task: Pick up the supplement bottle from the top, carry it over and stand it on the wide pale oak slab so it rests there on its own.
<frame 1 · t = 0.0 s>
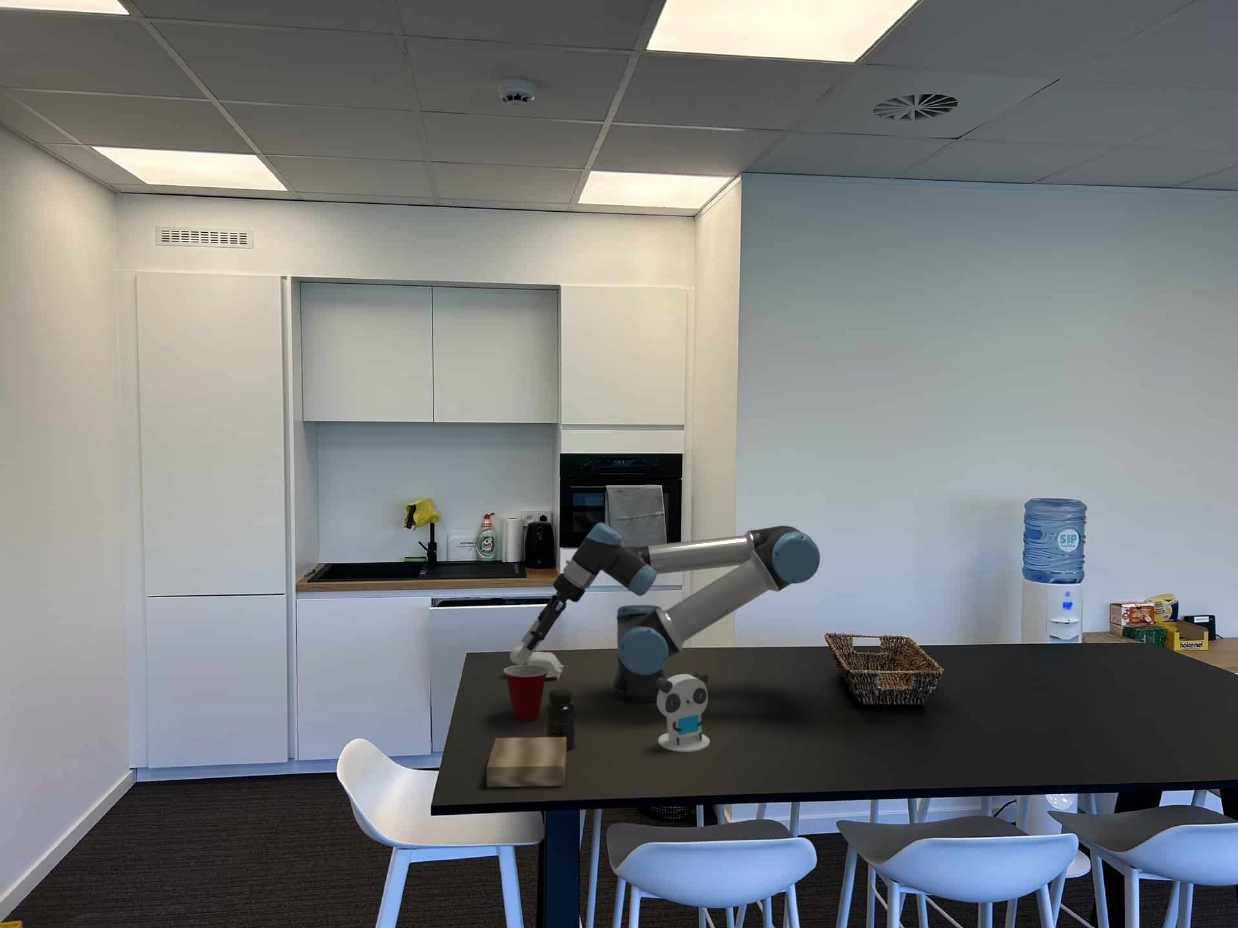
hand: (523, 651, 211), 15 cm above the table, tool tilted 35°, fingers open, 13 cm apart
supplement bottle: (560, 746, 192), on the table
oak block: (528, 770, 179), on the table
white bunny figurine: (536, 678, 241), on the table
plastic cup: (526, 717, 210), on the table
disc-based toy figure: (682, 742, 194), on the table
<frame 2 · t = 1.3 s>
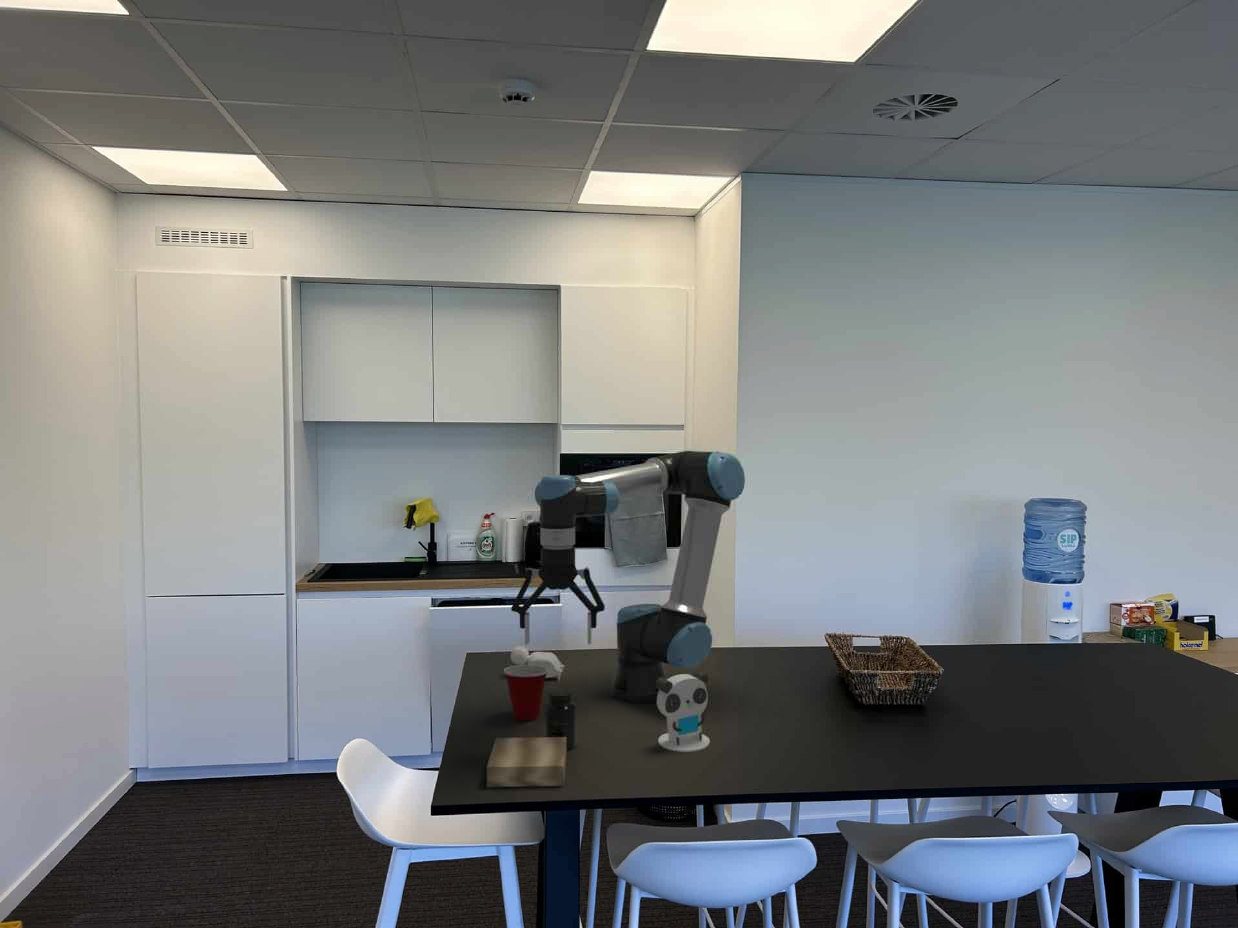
hand: (558, 642, 191), 23 cm above the table, tool pointing down, fingers open, 13 cm apart
nothing on the table moved.
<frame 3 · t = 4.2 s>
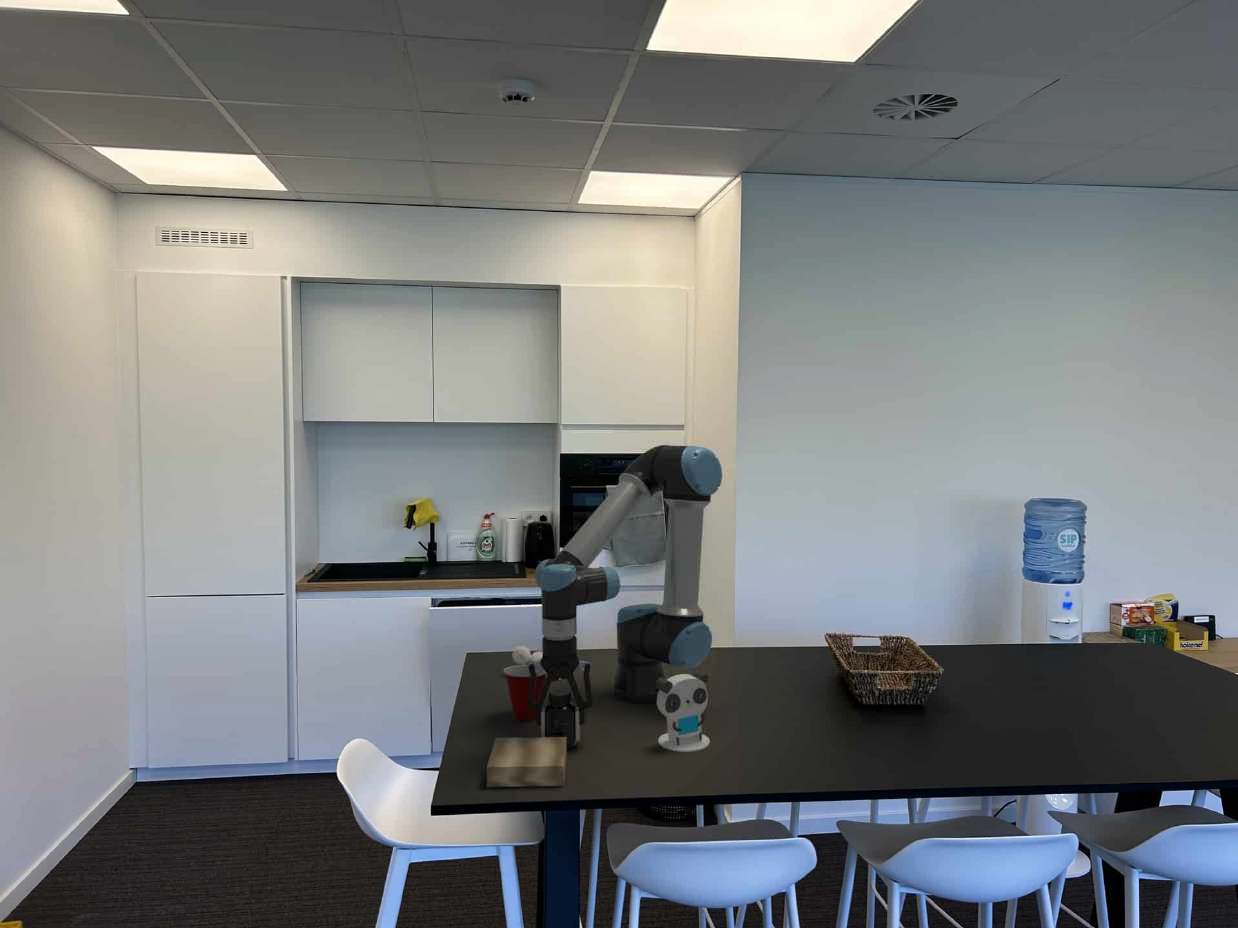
hand: (560, 738, 192), 2 cm above the table, tool pointing down, fingers closed on supplement bottle, 7 cm apart
supplement bottle: (560, 746, 192), on the table, touching gripper
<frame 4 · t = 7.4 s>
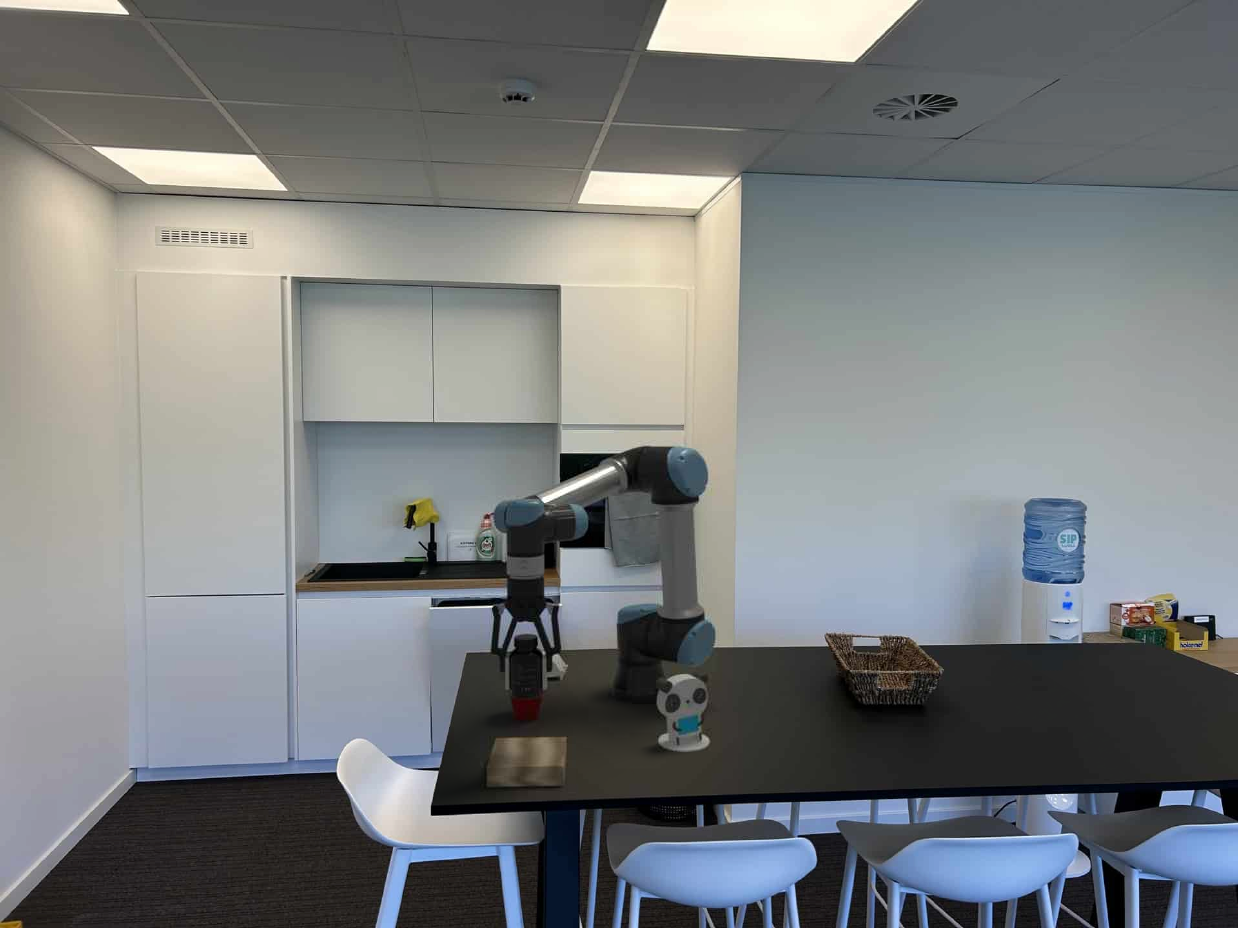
hand: (526, 687, 178), 17 cm above the table, tool pointing down, fingers closed on supplement bottle, 7 cm apart
supplement bottle: (526, 695, 178), point 16 cm above the table, touching gripper
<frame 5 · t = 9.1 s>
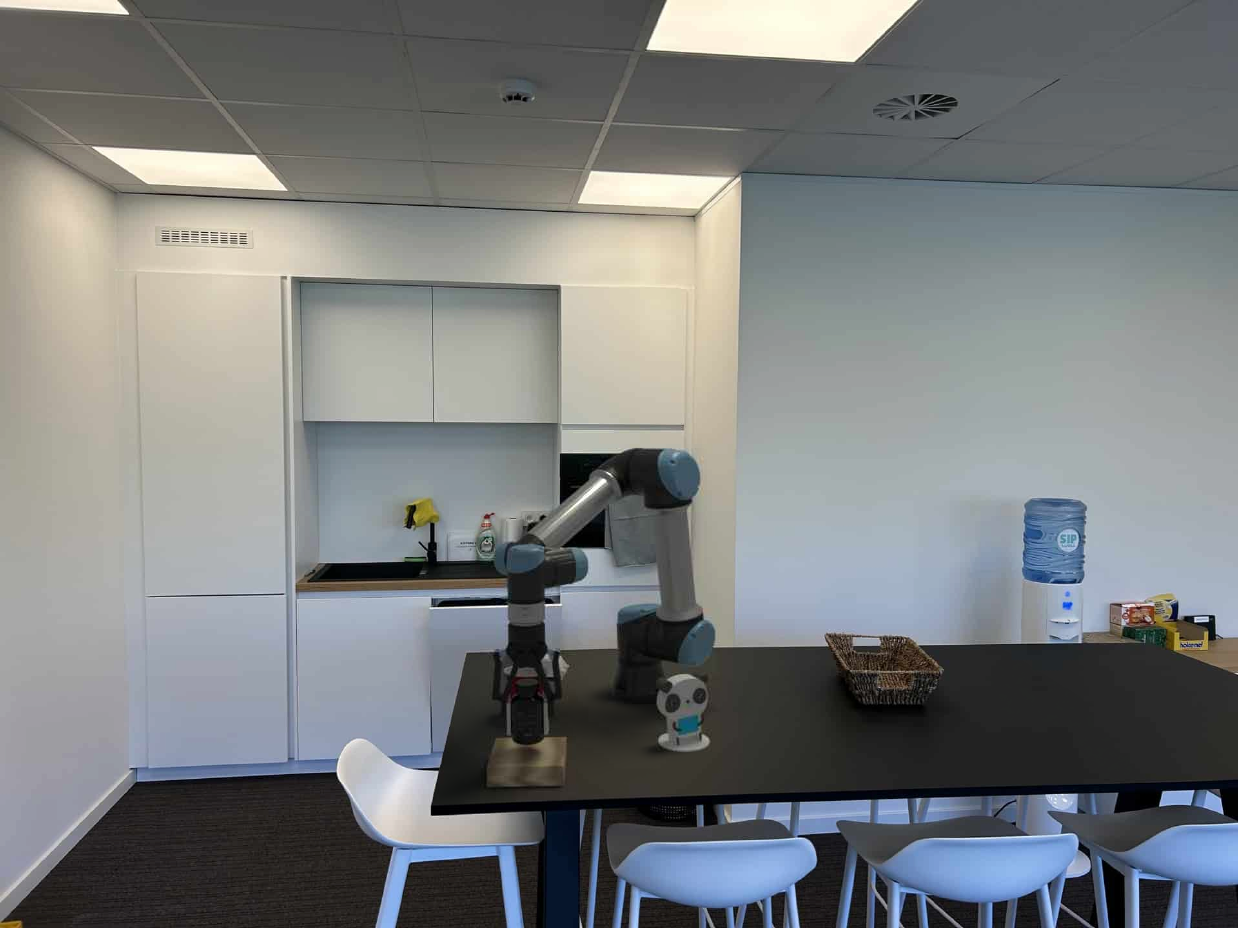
hand: (528, 732, 178), 8 cm above the table, tool pointing down, fingers closed on supplement bottle, 7 cm apart
supplement bottle: (528, 740, 179), point 6 cm above the table, touching gripper
when the fingers open (7 cm above the table, at t = 10.4 s): supplement bottle drops 2 cm, resting on oak block.
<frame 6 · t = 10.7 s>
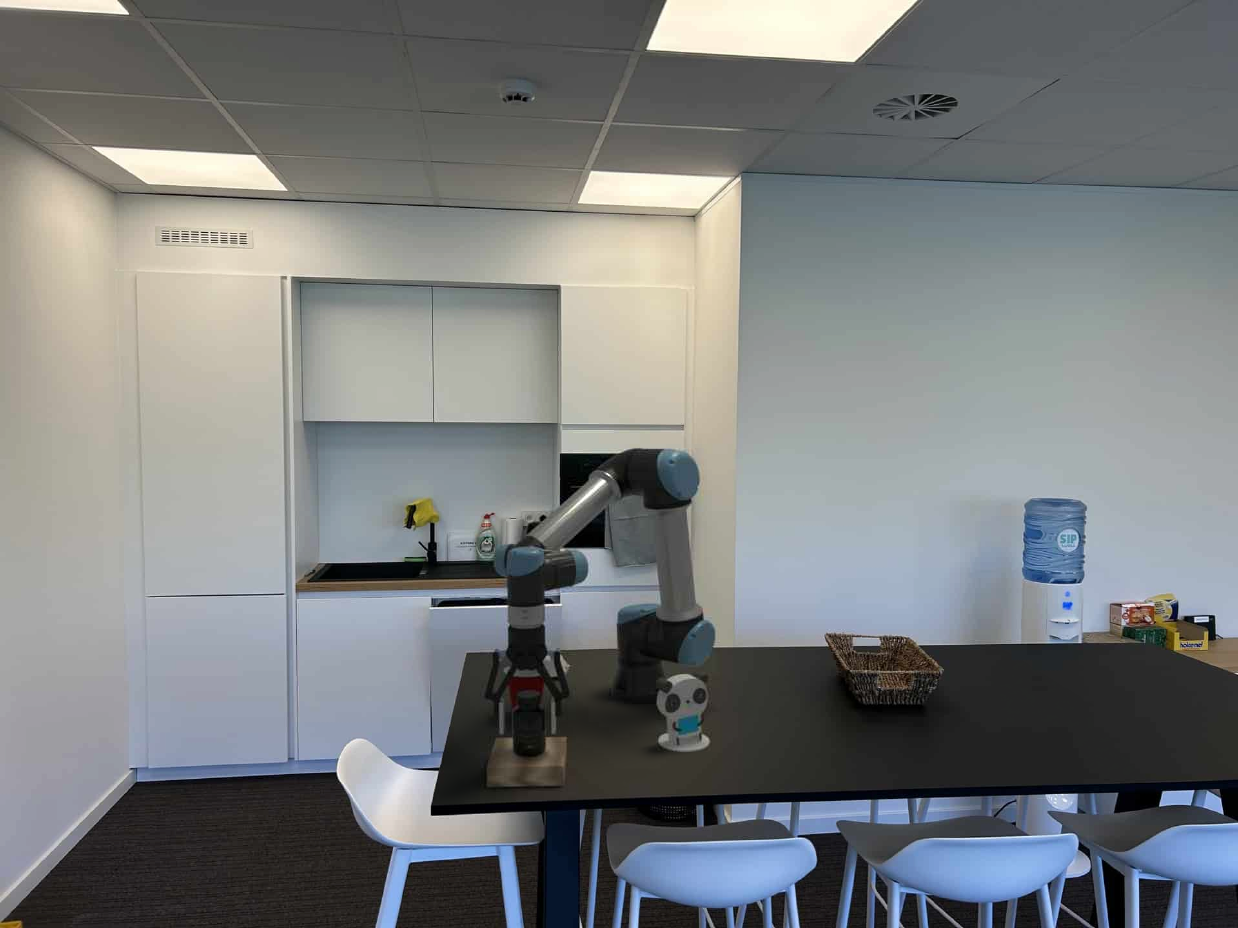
hand: (528, 731, 178), 8 cm above the table, tool pointing down, fingers open, 10 cm apart
supplement bottle: (529, 751, 179), point 4 cm above the table, touching oak block
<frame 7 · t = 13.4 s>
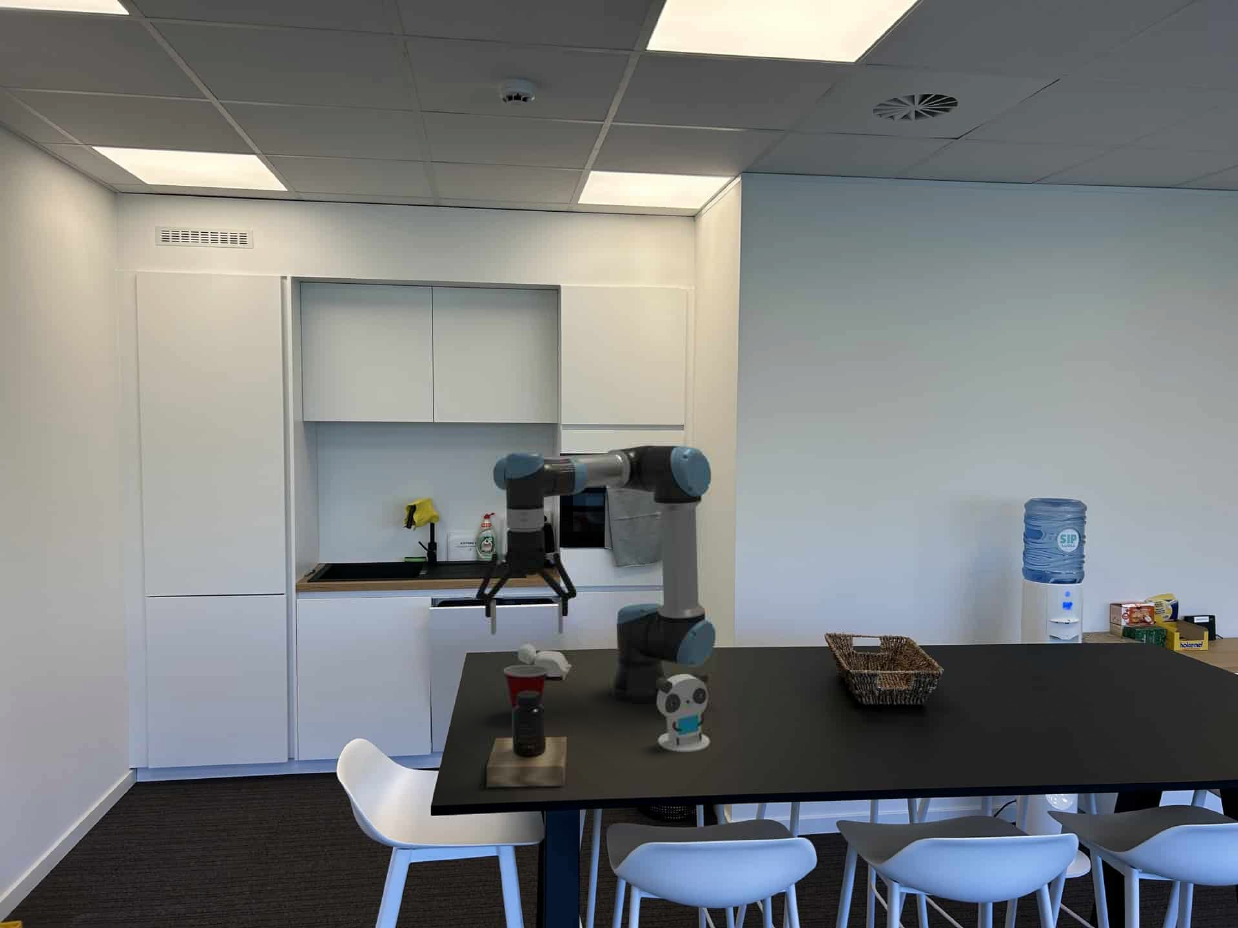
hand: (527, 632, 178), 29 cm above the table, tool pointing down, fingers open, 13 cm apart
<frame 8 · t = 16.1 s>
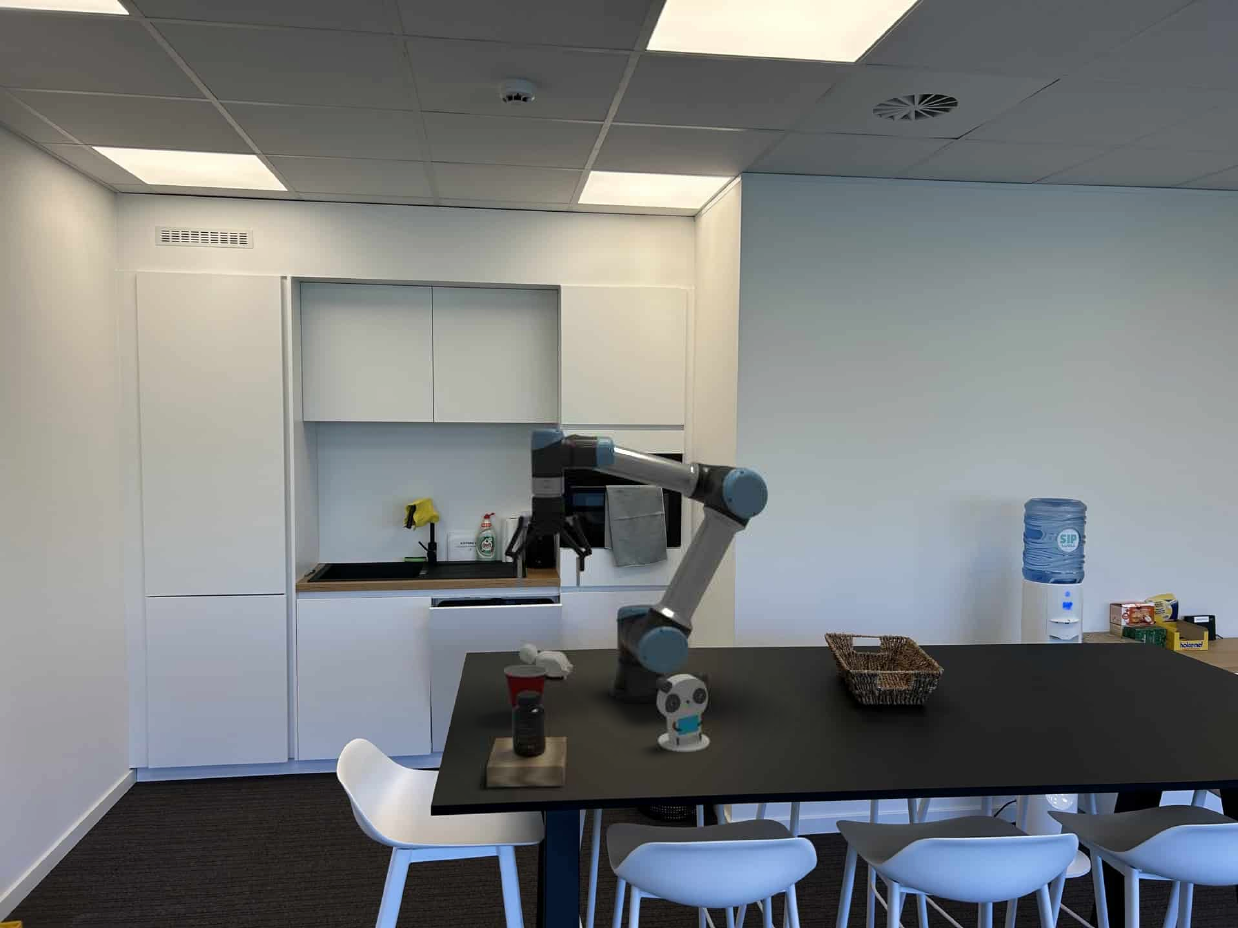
hand: (549, 585, 204), 33 cm above the table, tool pointing down, fingers open, 13 cm apart
at the end: supplement bottle touching oak block; supplement bottle tilted 0° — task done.
